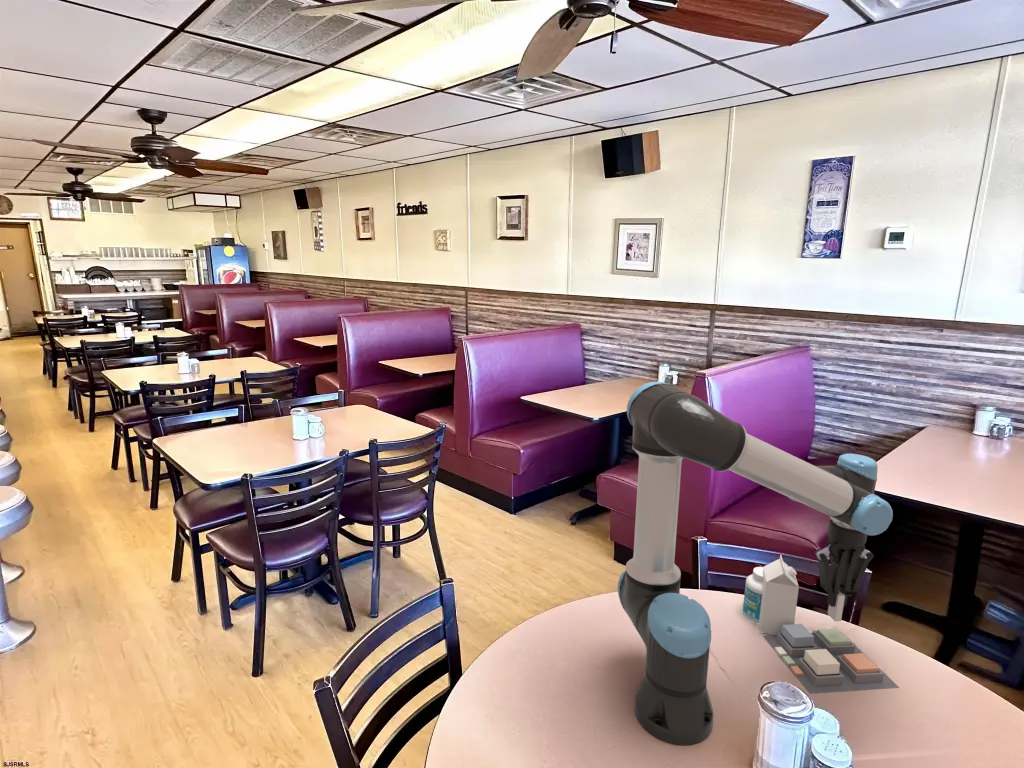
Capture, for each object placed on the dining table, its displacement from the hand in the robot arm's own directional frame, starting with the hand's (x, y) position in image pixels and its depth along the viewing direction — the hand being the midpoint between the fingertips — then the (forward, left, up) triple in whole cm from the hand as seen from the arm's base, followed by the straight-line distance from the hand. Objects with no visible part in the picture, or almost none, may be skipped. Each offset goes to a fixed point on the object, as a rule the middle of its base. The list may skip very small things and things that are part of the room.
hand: (834, 617), depth 131 cm
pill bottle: (-11, +13, -9) cm, 19 cm away
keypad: (-4, -4, -8) cm, 10 cm away
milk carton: (-9, +8, -9) cm, 15 cm away
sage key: (+1, 0, -7) cm, 7 cm away
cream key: (-8, -9, -5) cm, 13 cm away
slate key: (-8, 0, -5) cm, 10 cm away
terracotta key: (+1, -9, -7) cm, 11 cm away
